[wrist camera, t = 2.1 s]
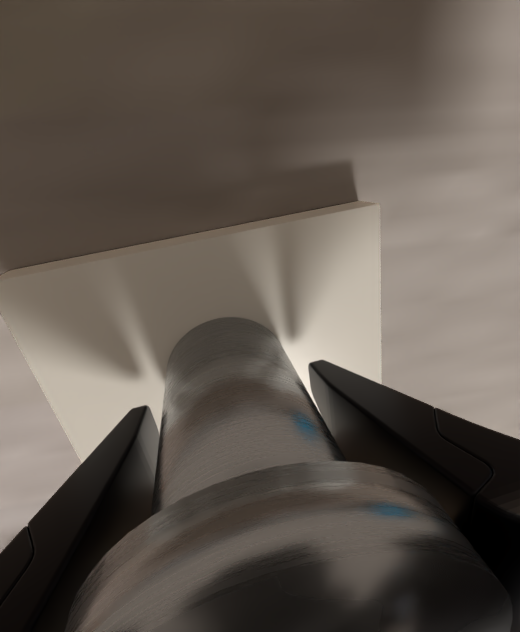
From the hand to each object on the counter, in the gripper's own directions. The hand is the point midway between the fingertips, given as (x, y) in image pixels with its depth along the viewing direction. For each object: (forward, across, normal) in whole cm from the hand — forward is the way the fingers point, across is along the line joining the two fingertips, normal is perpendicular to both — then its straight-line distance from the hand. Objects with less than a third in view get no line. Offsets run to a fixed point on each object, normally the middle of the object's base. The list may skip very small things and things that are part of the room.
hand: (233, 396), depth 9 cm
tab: (+2, 0, 0) cm, 2 cm away
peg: (+1, 0, 0) cm, 1 cm away
